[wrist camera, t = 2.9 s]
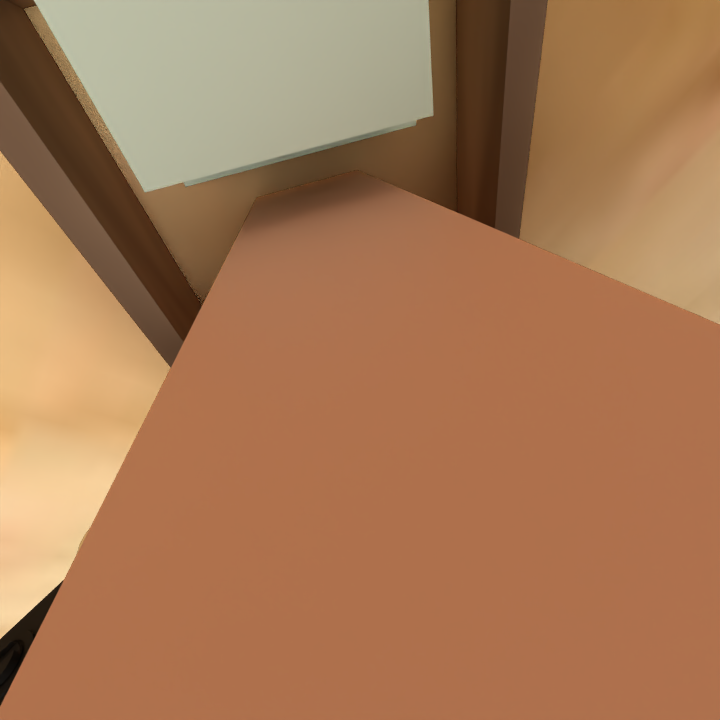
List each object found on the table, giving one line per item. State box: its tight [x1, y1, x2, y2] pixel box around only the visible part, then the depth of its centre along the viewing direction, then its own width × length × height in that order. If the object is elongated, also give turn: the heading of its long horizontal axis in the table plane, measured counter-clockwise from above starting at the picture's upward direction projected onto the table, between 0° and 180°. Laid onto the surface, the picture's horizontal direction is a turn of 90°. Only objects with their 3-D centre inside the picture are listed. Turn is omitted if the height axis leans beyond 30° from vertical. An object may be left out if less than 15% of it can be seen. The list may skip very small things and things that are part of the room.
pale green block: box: [34, 0, 433, 192], centre depth 7 cm, size 7×4×6 cm, turn 102°
